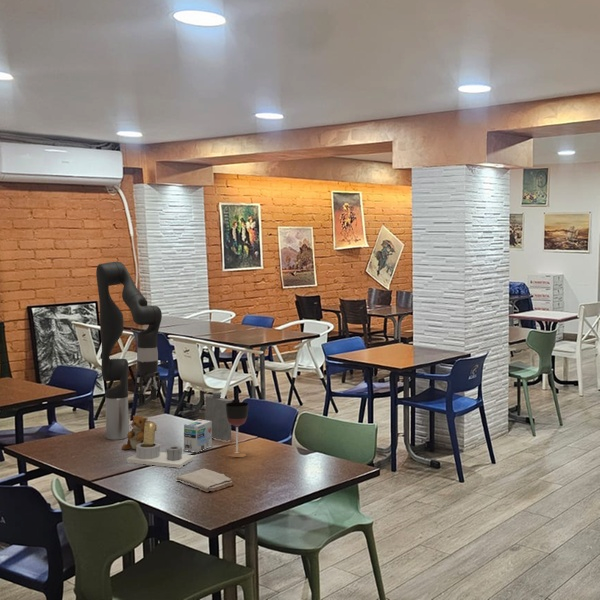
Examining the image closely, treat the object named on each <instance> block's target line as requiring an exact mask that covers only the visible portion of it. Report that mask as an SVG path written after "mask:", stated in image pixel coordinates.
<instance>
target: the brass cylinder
mask: <svg viewBox="0 0 600 600" xmlns="http://www.w3.org/2000/svg"><path fill="white" fill-rule="evenodd" d="M152 422H153V421H151V422H146V423H145V426H144V440H143V447H154V442H155V439H156V438H155V436H156V435H155V433H156V431H155V424H156V425H157V423H156V422H154V423H152Z"/></svg>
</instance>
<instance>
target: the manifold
mask: <svg viewBox="0 0 600 600" xmlns="http://www.w3.org/2000/svg"><path fill="white" fill-rule="evenodd" d="M160 445H161V444H160V443H158V442H155V441H154V447H143V443H139V444H137V445H136V449H135V450H136V451H135V454H133V455H131V456H129V457H127V458H126V463H128V464H134V463H137V464H136V465H143V464H146V465H145V466H152V465H156V466H155V467H160V466H172V467H181V466H183V465H184V464H186V463H188V462H190V461H191V460H193V459H196V456H195V455H194V454H193V455H191V454H184V453H183V449H182V448H183V447H182V446H178V445H171V446H168V447H166V452H164V451H161V450H160V448H161V447H160ZM193 461H194V460H193ZM190 463H191V462H190ZM188 464H189V463H188Z"/></svg>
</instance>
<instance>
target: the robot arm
mask: <svg viewBox="0 0 600 600" xmlns="http://www.w3.org/2000/svg"><path fill="white" fill-rule="evenodd" d="M95 274H96V275H95V276H96V284H97V285H96V286H97V293H98V301H99V327H100V340H101V341H100V342H101V377H102V380H104V381H105V382H119V383H118V384H117V385H115V386H113V387H110V388H107V389H106V391H105V395H104V396H105V438H106V439H107V440H122V439H123V440H125V439H126V438H127V439H128V436H127V434H128V433H129V432H130V426H129V425H130V413H129V362H128V360H127V358H110V355H111V353H112V351H113V350H114V347H115V345H116V344H117V343H118V341H119V340H120V338H121V336H122V335H123V333H124V314H123V312H122V311H121V309H120V308H119V306H118V305H117V303H115V301H114V300H113V299H112V297H111V294H110V289H109V287H111V286H116V285H117V286H118V285H122V286H123V288H122V290H121V291H122V292H121V297H122V300H123V302H124V304H125V305H126V306H127V308H129V310H130V314H131V316H132V320H133V322H134V323H135V324H136V325H139V326H147V328H146V329H144V330H143V331H139V333H137V354H136V357H137V359H136V361H137V363H136V365H137V367H136V369H137V372H138V373H140V376H139V377H137V376H136V377H135V378H134V393H135V394H137V395H138V404H139V405H142V406H144V405H145V404H146V391H147V390H148V389H150V400H152V401H156V400H157V392H158V391H157V390H158V389H159V388H160V387H161V382H160V381H161V377H160V376H161V375H160V374H161V373H160V371H158V370H159V351H158V334H159V329H160V325H161V323H162V317H163V315H162V310H161V308H160V307H159V306H158V305H148V300H147V299H146V297H145V296H144V295H143V293H142V292H141V291H140V290H139V289H138V288H137V286H136V285H135V282H134V280H133V278H132V276H131V274H130V272H129V270H128V269H127V267H126V265H124V263H123V262H121V261H111V262H110V261H109V262H104V263H99V264H97V266H96V273H95Z"/></svg>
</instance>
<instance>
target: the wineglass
mask: <svg viewBox="0 0 600 600" xmlns="http://www.w3.org/2000/svg"><path fill="white" fill-rule="evenodd" d="M248 412H249V403H248V402H243V401H233V402H232V401H231V403H227V404H226V414H227V419H228V422H229V423H230V424H231V426H233V427H235V453H239V427H240V426H242V425H244V424H245V423H246V422H247V419H248Z"/></svg>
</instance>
